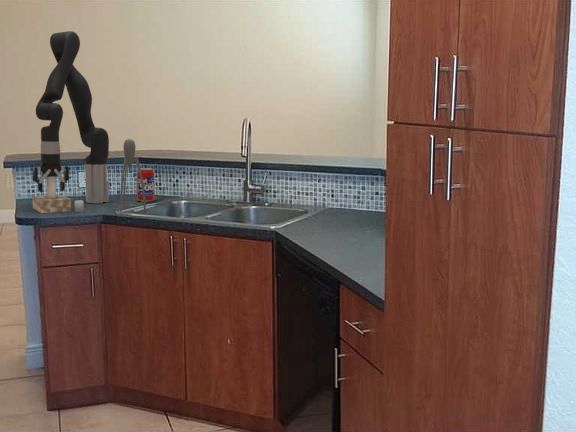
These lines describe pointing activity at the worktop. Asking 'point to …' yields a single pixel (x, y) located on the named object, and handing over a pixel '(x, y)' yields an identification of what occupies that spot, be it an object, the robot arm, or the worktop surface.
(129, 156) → the citrus juicer
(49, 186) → the tall ivory dowel
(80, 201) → the short grey dowel
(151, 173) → the soda can
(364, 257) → the worktop surface
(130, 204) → the worktop surface
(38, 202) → the birch socket block
